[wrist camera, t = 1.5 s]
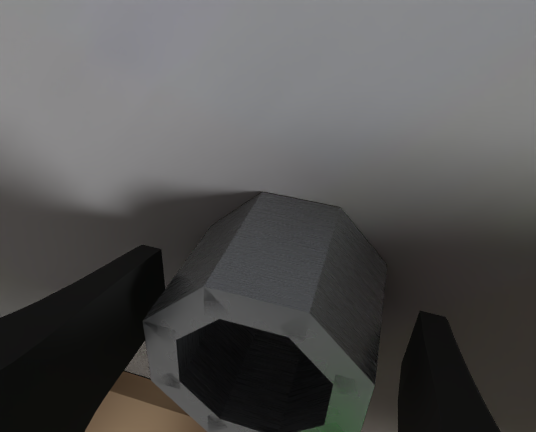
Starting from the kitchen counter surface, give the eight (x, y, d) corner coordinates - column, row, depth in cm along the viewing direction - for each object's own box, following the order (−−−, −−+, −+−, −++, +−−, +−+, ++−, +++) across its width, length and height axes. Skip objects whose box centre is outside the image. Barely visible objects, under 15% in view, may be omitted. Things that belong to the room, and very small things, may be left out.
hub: (399, 219, 11) (390, 333, 8) (363, 353, 14) (346, 477, 11) (210, 181, 12) (134, 268, 9) (212, 313, 15) (156, 415, 12)
